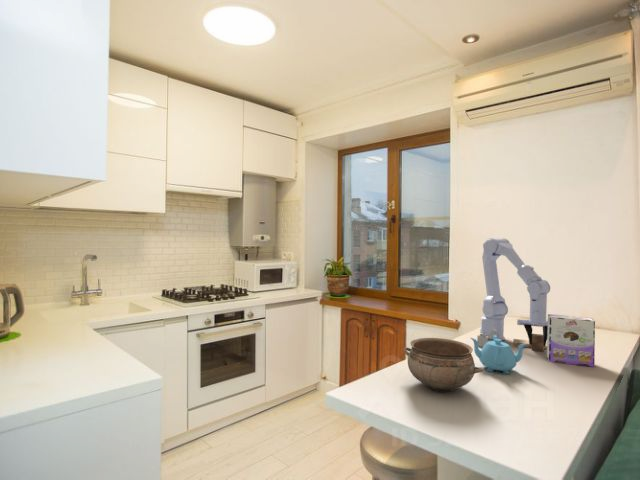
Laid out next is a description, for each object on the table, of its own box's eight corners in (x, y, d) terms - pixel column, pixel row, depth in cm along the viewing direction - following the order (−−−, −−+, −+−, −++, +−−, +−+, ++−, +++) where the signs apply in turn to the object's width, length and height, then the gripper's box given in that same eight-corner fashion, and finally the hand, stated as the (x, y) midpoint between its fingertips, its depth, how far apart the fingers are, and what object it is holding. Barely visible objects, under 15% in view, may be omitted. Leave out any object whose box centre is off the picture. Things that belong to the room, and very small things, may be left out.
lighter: (477, 345, 154) (477, 326, 154) (478, 345, 155) (479, 325, 155) (495, 349, 149) (495, 329, 149) (496, 348, 150) (497, 329, 150)
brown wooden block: (531, 350, 149) (532, 335, 149) (528, 344, 157) (528, 330, 157) (543, 351, 147) (543, 336, 147) (539, 345, 155) (539, 331, 155)
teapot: (499, 378, 118) (499, 346, 118) (467, 365, 130) (467, 336, 130) (527, 373, 123) (528, 342, 123) (494, 360, 136) (494, 332, 135)
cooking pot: (386, 383, 113) (386, 342, 113) (419, 368, 126) (420, 332, 126) (467, 412, 95) (468, 364, 95) (496, 391, 108) (497, 349, 108)
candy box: (590, 362, 135) (591, 317, 135) (594, 367, 130) (595, 320, 130) (546, 356, 141) (547, 313, 141) (548, 361, 136) (549, 316, 136)
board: (515, 346, 154) (515, 342, 154) (513, 342, 160) (513, 338, 160) (557, 350, 149) (557, 346, 149) (554, 346, 155) (554, 343, 154)
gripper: (518, 310, 148) (518, 344, 149) (561, 314, 143) (560, 349, 143) (516, 307, 155) (515, 340, 155) (557, 310, 150) (556, 344, 150)
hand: (537, 344), depth 150 cm, fingers open, 4 cm apart
